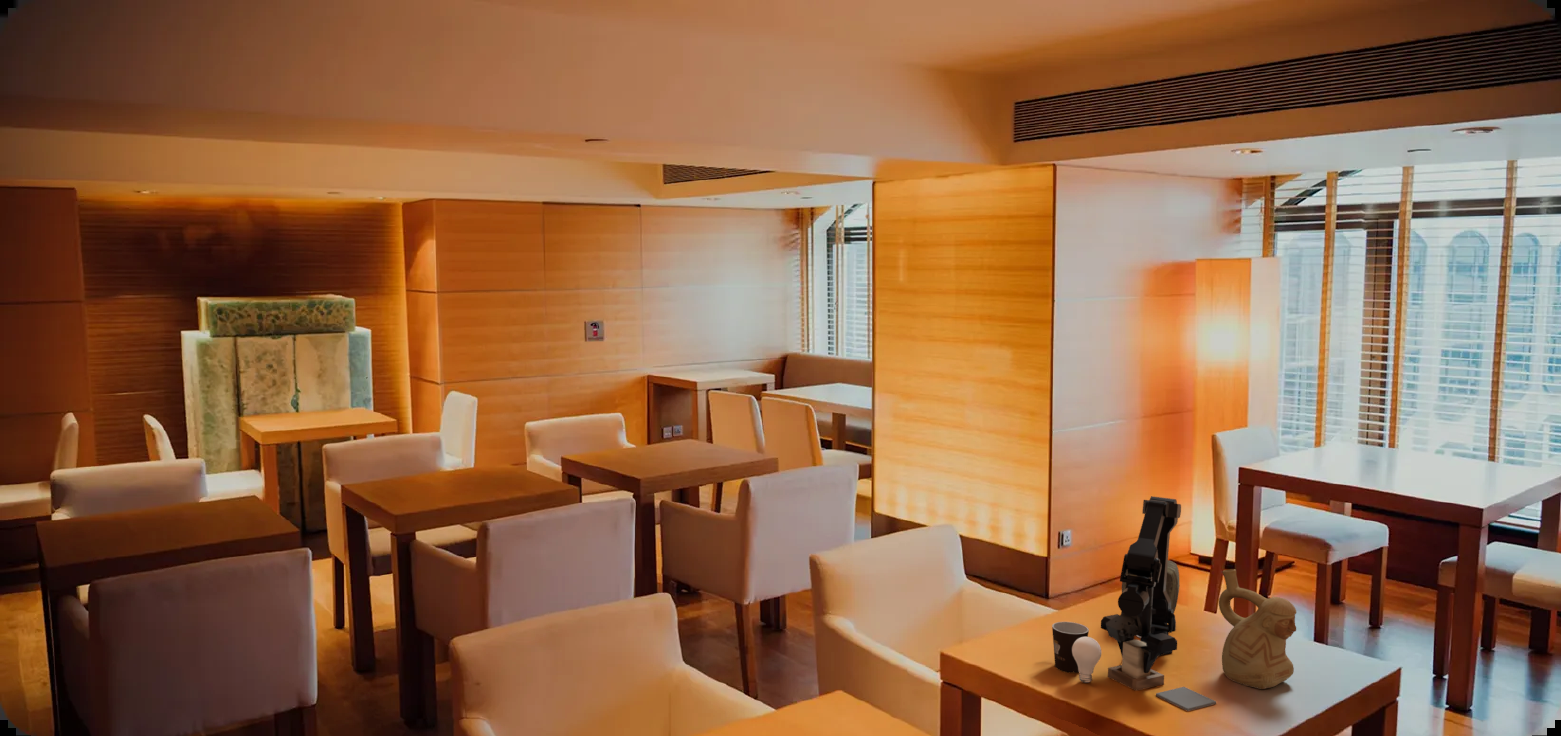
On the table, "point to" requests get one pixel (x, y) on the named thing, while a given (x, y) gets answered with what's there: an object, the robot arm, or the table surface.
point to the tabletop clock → (1168, 583)
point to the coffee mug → (1066, 644)
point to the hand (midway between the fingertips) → (1136, 667)
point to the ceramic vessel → (1256, 637)
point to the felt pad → (1185, 698)
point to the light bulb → (1086, 657)
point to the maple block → (1133, 659)
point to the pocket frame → (1132, 682)
